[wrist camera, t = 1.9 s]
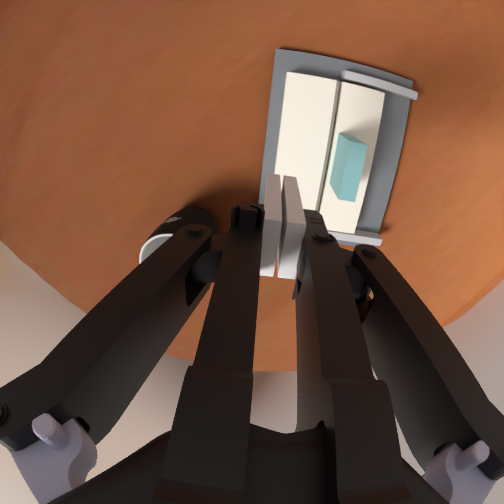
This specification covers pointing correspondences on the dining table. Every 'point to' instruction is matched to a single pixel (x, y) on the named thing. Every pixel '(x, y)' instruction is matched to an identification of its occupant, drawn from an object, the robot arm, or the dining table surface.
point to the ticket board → (321, 127)
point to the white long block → (350, 156)
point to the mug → (177, 228)
